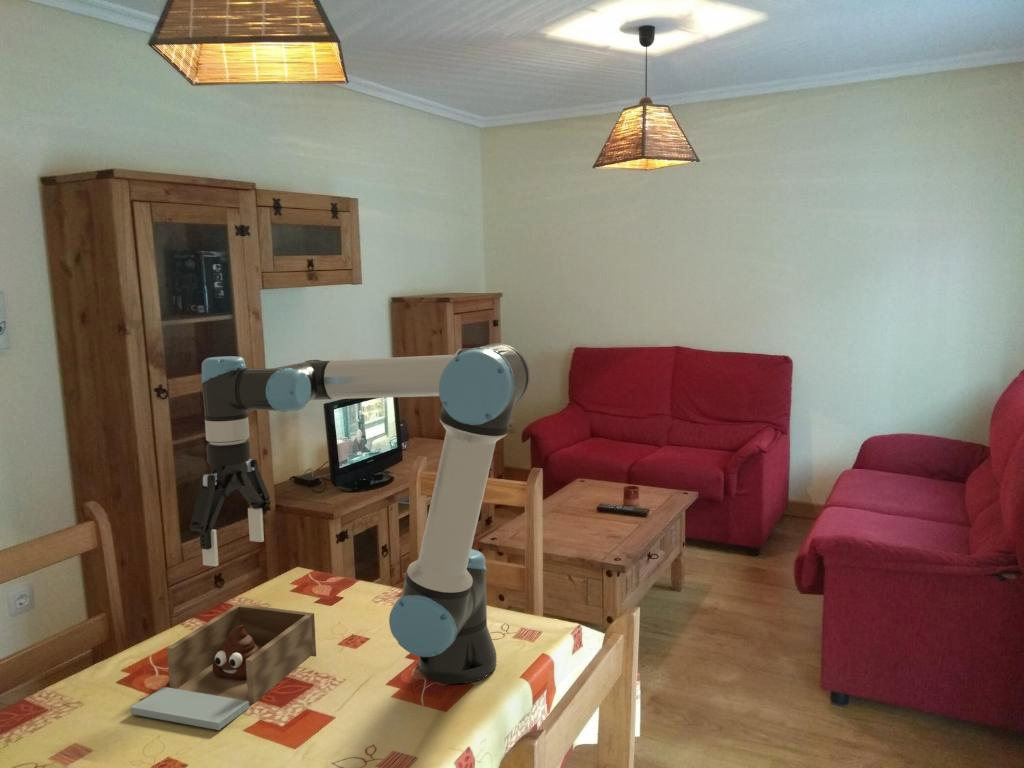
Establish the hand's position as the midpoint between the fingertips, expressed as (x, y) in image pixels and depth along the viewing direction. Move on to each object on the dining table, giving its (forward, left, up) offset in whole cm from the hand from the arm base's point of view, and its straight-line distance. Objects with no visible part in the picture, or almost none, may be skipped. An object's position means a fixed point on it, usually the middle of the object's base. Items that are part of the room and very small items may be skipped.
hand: (234, 552), depth 147 cm
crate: (0, -1, -25) cm, 25 cm away
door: (0, +10, -24) cm, 26 cm away
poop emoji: (+1, 0, -24) cm, 24 cm away
